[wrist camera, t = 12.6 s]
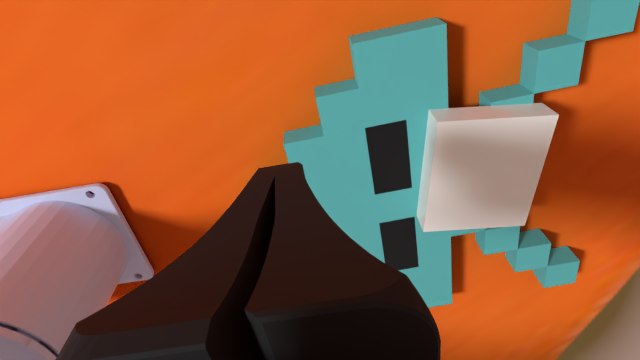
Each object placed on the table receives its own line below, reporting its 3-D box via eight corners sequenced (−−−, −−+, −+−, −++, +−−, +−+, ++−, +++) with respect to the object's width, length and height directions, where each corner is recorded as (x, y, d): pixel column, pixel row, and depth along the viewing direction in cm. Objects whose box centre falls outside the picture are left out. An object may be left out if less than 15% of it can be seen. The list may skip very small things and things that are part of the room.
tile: (423, 231, 23) (524, 225, 23) (437, 121, 19) (559, 114, 19) (416, 215, 24) (512, 209, 24) (428, 109, 20) (542, 102, 21)
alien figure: (611, -25, 19) (223, 60, 21) (644, -20, 18) (216, 73, 19) (557, 260, 30) (304, 304, 31) (575, 282, 28) (305, 328, 30)
